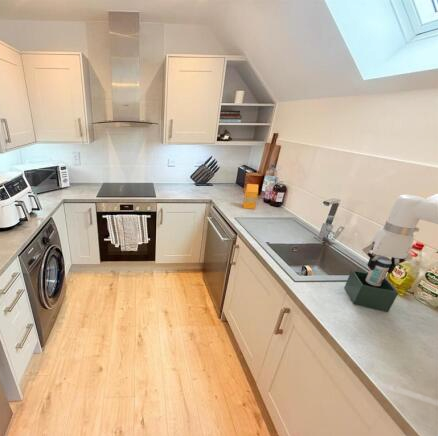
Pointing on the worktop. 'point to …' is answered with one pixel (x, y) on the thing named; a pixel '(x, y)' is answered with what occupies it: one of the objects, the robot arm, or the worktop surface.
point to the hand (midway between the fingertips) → (379, 269)
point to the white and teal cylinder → (379, 271)
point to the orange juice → (250, 196)
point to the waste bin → (370, 292)
